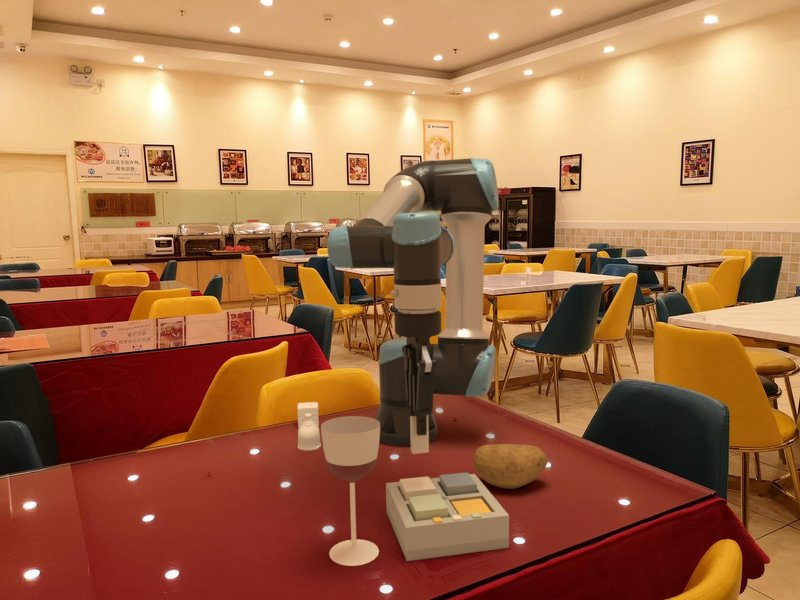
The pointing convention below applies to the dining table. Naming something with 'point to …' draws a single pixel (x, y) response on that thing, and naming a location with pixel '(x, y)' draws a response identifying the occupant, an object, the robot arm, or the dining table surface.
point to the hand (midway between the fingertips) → (419, 451)
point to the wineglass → (351, 474)
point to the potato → (509, 464)
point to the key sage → (427, 507)
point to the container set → (308, 426)
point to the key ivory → (416, 487)
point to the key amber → (470, 507)
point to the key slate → (457, 484)
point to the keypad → (448, 525)
